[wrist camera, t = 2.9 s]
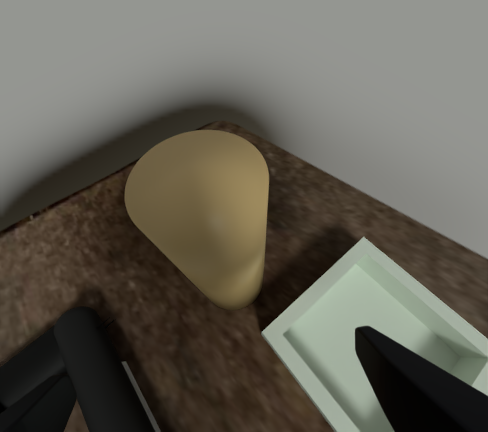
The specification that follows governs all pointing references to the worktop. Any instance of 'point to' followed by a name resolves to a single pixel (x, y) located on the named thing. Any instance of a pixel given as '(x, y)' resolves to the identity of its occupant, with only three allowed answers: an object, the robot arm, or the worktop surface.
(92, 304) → the worktop surface
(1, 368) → the door handle
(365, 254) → the tray
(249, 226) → the tan rounded cylinder
